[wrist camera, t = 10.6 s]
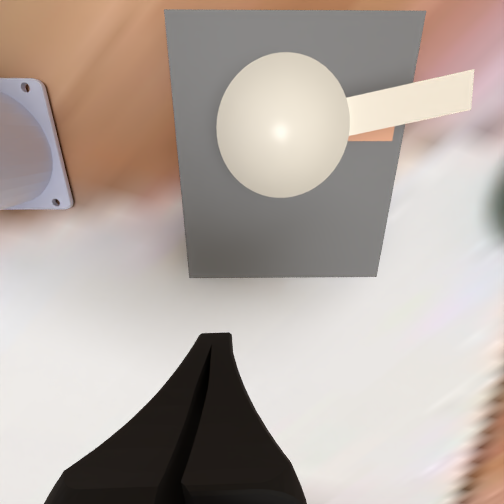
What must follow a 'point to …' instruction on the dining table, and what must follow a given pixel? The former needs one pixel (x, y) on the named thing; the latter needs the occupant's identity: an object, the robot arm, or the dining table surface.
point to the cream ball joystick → (314, 119)
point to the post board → (319, 198)
